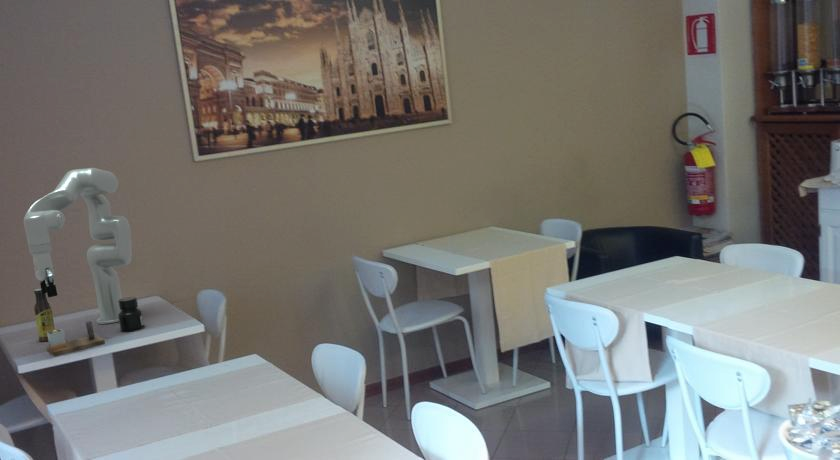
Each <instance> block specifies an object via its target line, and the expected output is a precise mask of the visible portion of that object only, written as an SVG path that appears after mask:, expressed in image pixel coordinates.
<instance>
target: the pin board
mask: <svg viewBox="0 0 840 460" xmlns="http://www.w3.org/2000/svg"><path fill="white" fill-rule="evenodd" d="M85 324H86V325H85V326H86V331H87V335H88V336H85V337H79V338H75V339H71V340H69V341H68V340H66V344H67V347H64V348H60V349H56V350H52V349H51V348H50V347H49V345H47V346H45V347H46V348H45V349H46V351H47V352H48V353H49V354H51V356H52V357H58V356H61V355H65V354H69V353H75V352H78V351H81V350H84V349H85V350H86V349H89V348H93V346H94V347H97V346H101V345H105V344H106V343H105V339H103V338H102V337H101V336H99V335H98V334H95V333H94V329H93V322H92V321H91V320H90V321H87V322H85Z"/></svg>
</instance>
